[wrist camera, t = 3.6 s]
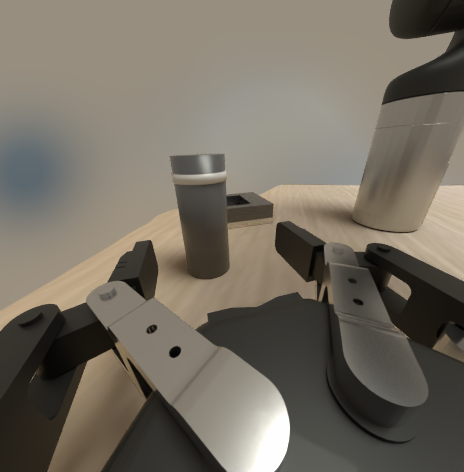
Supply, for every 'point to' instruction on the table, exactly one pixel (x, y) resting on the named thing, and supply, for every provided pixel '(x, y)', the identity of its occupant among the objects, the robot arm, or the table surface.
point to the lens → (203, 212)
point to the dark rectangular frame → (248, 210)
